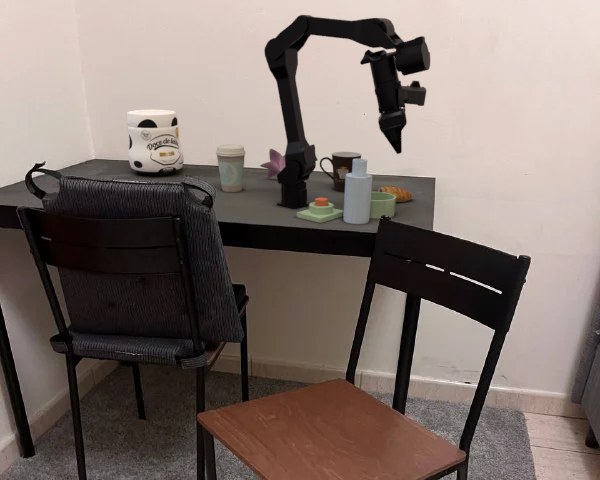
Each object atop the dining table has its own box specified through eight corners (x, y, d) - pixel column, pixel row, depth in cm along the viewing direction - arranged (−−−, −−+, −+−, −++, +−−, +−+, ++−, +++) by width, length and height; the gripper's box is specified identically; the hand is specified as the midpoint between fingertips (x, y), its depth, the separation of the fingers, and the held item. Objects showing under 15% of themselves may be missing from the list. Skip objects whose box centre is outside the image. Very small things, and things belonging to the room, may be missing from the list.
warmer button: (312, 206, 156) (312, 198, 155) (320, 203, 158) (320, 196, 157) (322, 208, 154) (322, 201, 154) (330, 205, 157) (330, 198, 156)
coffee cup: (211, 189, 181) (209, 146, 175) (233, 185, 187) (231, 143, 180) (231, 194, 176) (229, 150, 170) (252, 190, 182) (251, 146, 175)
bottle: (338, 220, 154) (341, 159, 147) (353, 216, 159) (357, 156, 151) (358, 225, 151) (363, 163, 143) (374, 220, 155) (378, 159, 147)
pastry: (406, 197, 177) (408, 183, 175) (414, 202, 172) (416, 188, 170) (375, 197, 176) (376, 184, 174) (382, 203, 170) (383, 189, 168)
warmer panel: (296, 217, 157) (296, 205, 155) (321, 210, 163) (321, 198, 162) (320, 223, 152) (321, 210, 151) (345, 215, 159) (345, 203, 157)
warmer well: (348, 213, 160) (349, 196, 158) (370, 206, 167) (371, 189, 165) (380, 221, 155) (381, 202, 152) (401, 213, 161) (403, 196, 159)
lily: (307, 184, 194) (302, 153, 193) (294, 175, 183) (289, 143, 182) (272, 194, 198) (267, 164, 198) (257, 185, 187) (252, 154, 187)
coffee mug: (365, 189, 184) (367, 154, 179) (346, 194, 179) (348, 158, 174) (335, 183, 191) (336, 149, 186) (317, 187, 186) (317, 152, 180)
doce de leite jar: (169, 180, 192) (164, 116, 182) (120, 175, 196) (112, 113, 186) (193, 169, 206) (189, 110, 197) (146, 166, 210) (140, 108, 201)
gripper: (422, 77, 133) (434, 149, 142) (419, 62, 148) (430, 129, 156) (371, 92, 136) (386, 162, 144) (373, 76, 151) (386, 141, 159)
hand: (399, 148), depth 151 cm, fingers open, 9 cm apart
